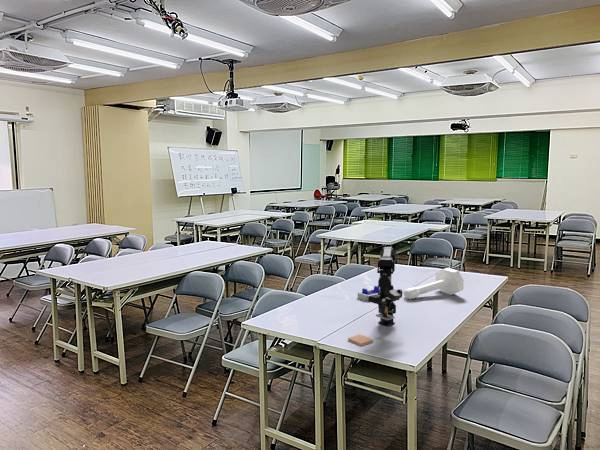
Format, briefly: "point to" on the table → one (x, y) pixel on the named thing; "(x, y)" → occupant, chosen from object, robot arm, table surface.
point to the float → (385, 314)
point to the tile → (360, 340)
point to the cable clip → (376, 290)
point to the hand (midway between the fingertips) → (385, 313)
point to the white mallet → (439, 284)
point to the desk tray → (364, 296)
